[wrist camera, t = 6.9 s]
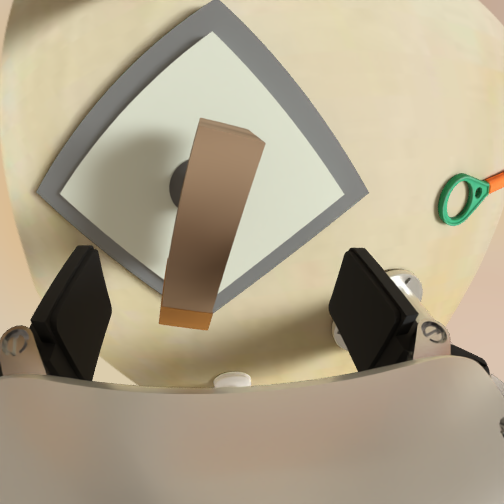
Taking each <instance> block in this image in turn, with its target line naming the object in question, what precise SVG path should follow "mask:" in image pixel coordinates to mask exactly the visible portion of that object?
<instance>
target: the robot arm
mask: <svg viewBox="0 0 504 504" xmlns="http://www.w3.org/2000/svg"><path fill="white" fill-rule="evenodd" d="M422 293H423V289H422V284H421V282H420V280H419V279H418V278H417V277H416V276H415V275H414V274H413V273H411V272H410V271H407V270H392V271H388V272H385V271H384V270H383V269H382V267H381V266H380V265H379V264H378V263H377V262H376V260H375V259H374V258H373V257H372V256H371V255H370V254H369V252H368V251H367V250H366V249H365V248H350V249H349V251H347V252H346V253H345V255H344V258H343V261H342V265H341V268H340V271H339V275H338V278H337V281H336V284H335V287H334V290H333V294H332V297H331V300H330V303H329V312H330V314H331V316H332V318H333V323H332V335H333V338H334V340H335V342H336V344H337V345H338V346H339V347H340V348H342V349H344V350H348V351H349V353H350V355H351V357H352V360H353V362H354V364H355V366H356V368H357V370H358V372H355V373H350V374H345V375H339V376H333V377H327V378H321V379H314V380H306V381H299V382H290V383H281V384H271V385H259V386H244V387H220V388H172V387H149V386H135V385H122V384H113V383H104V382H95V381H92V379H93V375H94V371H95V367H96V364H97V360H98V356H99V353H100V349H101V346H102V343H103V339H104V336H105V333H106V330H107V326H108V323H109V320H110V317H111V313H112V307H111V303H110V299H109V296H108V292H107V288H106V284H105V280H104V276H103V272H102V267H101V263H100V258H99V254H98V251H97V250H96V249H94V248H93V246H77V247H76V248H75V250H74V251H73V253H72V254H71V256H70V257H69V258H68V260H67V261H66V263H65V264H64V266H63V267H62V269H61V270H60V272H59V273H58V275H57V276H56V278H55V279H54V281H53V282H52V284H51V286H50V287H49V289H48V290H47V292H46V294H45V295H44V297H43V299H42V300H41V302H40V304H39V306H38V308H37V309H36V311H35V313H34V315H33V316H32V318H31V322H32V324H31V326H30V328H28V327H26V326H22V325H21V326H15V327H12V328H10V329H9V330H7V331H6V332H5V333H4V334H3V335H2V337H1V339H0V504H504V383H503V382H502V381H500V380H499V379H498V378H497V377H495V376H494V375H493V374H491V375H490V373H489V368H488V366H487V364H486V362H485V360H483V359H482V358H480V357H478V356H476V355H474V354H472V353H469V352H467V351H465V350H463V349H461V348H459V347H457V346H455V345H453V344H452V342H451V341H450V334H449V332H448V330H447V329H446V328H445V327H444V326H443V325H442V324H441V323H440V322H438V321H436V320H435V319H434V318H433V317H432V316H431V314H430V313H429V312H428V310H427V309H426V308H425V307H424V305H423V304H422V303H421V299H422Z"/></svg>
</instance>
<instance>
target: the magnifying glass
mask: <svg viewBox="0 0 504 504" xmlns="http://www.w3.org/2000/svg"><path fill="white" fill-rule="evenodd" d="M461 181H466V182H467V184H468V187H469V196H468V200H467V203H466V205H465V207H464V209H463V210H462V212H461V213H460V214H459V215H457V216H456V217H449V216H448V214H447V202H448V199H449V196H450V193H451V191H452V190H453V188H454V187H455V186H456V185H457V184H458V183H459V182H461ZM503 187H504V172H502V173H500V174H497V175H495V176H492V177H490V178H488V179H485V180H483V181H481V180H479V179H476V178H474V177H472V176H469V175H467V174H463V173H461V174H457V175H455V176H454V177H452V178H451V179H450V180H449V181H448V182H447V184H446V185H445V187H444V189H443V190H442V193H441V195H440V199H439V204H438V213H439V216H440V218H441V220H442V221H443V222H445V223H446V224H448V225H450V226H456V225H459V224H461V223H463V222H464V221H465V220H466V219H467V218H468V217H469V216H470V215H471V214H472V213H473V212H474V210H475V209H476V208H477V207H478V206H479V205H480V203H481V202H482V201H483V200H484V199H485V197H486V196H488V194H490V193H492V192H494V191H496V190H498V189H501V188H503ZM477 188H478V191H477V193H476V195H475V192H476V190H477Z"/></svg>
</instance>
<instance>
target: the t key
mask: <svg viewBox="0 0 504 504" xmlns="http://www.w3.org/2000/svg"><path fill="white" fill-rule="evenodd" d="M265 144H266V143H265V142H264V141H263V140H261V139H260V138H259V137H257V136H256V135H255V134H254V133H252V132H251V131H250V130H248V129H245V128H241V127H238V126H234V125H230V124H226V123H222V122H218V121H213V120H209V119H205V118H200V119H199V123H198V126H197V130H196V134H195V137H194V141H193V145H192V149H191V153H190V157H189V161H188V165H187V169H186V173H185V177H184V181H183V184H182V189H181V194H180V199H179V204H178V209H177V214H176V219H175V224H174V229H173V234H172V240H171V245H170V251H169V257H168V258H167V264H166V270H165V277H164V284H163V292H162V300H161V309H160V318H159V324H163V325H169V326H177V327H184V328H192V329H200V330H208V328H209V325H210V322H211V318H212V315H213V307H214V304H215V301H216V297H217V294H218V291H219V287H220V284H221V281H222V277H223V274H224V271H225V268H226V265H227V261H228V258H229V255H230V252H231V248H232V245H233V242H234V239H235V236H236V233H237V229H238V226H239V223H240V220H241V217H242V214H243V211H244V208H245V204H246V201H247V198H248V195H249V192H250V189H251V186H252V183H253V180H254V177H255V174H256V171H257V168H258V165H259V162H260V159H261V156H262V153H263V150H264V147H265Z"/></svg>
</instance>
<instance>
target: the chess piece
mask: <svg viewBox="0 0 504 504" xmlns="http://www.w3.org/2000/svg"><path fill="white" fill-rule="evenodd" d="M213 384H214V387H215V388H220V387H244V386H250V385H251V377H250V376H249V375H248V374H246V373H243V372H227V373H223V374H221V375H219V376H217V377H216V378H215V379H214V382H213Z"/></svg>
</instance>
